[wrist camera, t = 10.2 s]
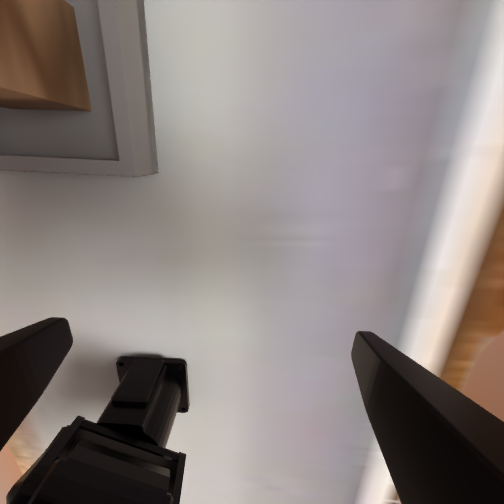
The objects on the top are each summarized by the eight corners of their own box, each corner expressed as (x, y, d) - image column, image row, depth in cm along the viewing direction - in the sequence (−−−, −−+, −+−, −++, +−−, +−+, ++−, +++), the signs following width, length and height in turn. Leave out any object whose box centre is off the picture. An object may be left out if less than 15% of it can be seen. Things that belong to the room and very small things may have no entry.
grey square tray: (158, 172, 18) (135, 176, 14) (-11, 164, 18) (-72, 166, 14) (138, -64, 13) (98, -135, 10) (-86, -74, 13) (-197, -148, 10)
